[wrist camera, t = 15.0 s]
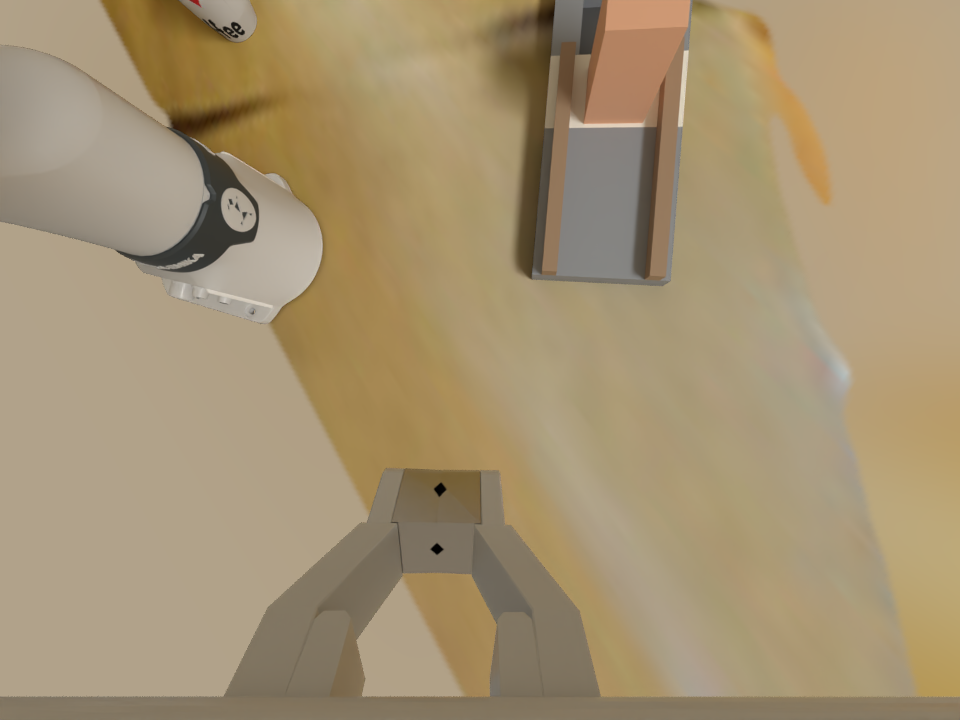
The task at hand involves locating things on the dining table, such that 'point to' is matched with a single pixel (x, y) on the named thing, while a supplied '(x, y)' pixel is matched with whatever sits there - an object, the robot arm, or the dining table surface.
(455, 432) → the dining table surface
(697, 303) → the dining table surface
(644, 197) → the tray
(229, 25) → the cup
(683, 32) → the block
